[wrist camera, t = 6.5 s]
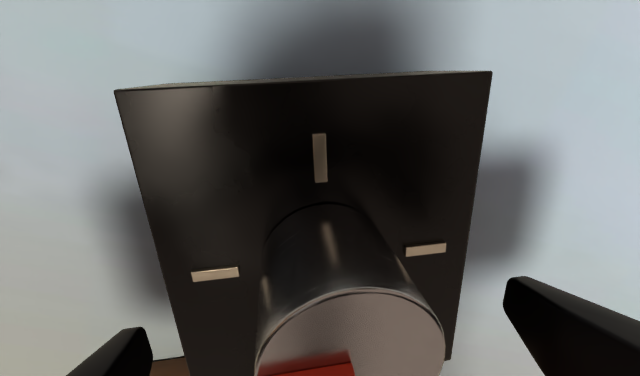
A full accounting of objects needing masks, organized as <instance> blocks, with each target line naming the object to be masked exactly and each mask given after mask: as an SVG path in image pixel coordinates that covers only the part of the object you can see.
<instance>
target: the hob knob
mask: <svg viewBox="0 0 640 376" xmlns="http://www.w3.org/2000/svg"><path fill="white" fill-rule="evenodd" d="M444 358H445V338H444V332H443V329H442V326H441V324H440V322H439V320H438V318H437V317H436V315H435V314H434V312H433V311H432V309H431V308H430V306H429V305H428V303H427V302H426V300H425V298H424V297H423V295H422V294H421V292H420V291H419V289H418V288H417V286H416V285H415V283H414V282H413V280H412V279H411V277H410V276H409V274H408V273H407V271H406V270H405V268H404V267H403V265H402V264H401V262H400V261H399V259H398V258H397V256H396V255H395V253H394V252H393V250H392V249H391V247H390V246H389V244H388V243H387V241H386V240H385V238H384V236H383V235H382V233H381V232H380V230H379V229H378V227H377V226H376V225H375V224H374V222H373V221H372V220H370V219H369V218H368V217H367V216H366V215H364V214H363V213H361V212H359V211H357V210H355V209H353V208H350V207H347V206H342V205H334V204H323V205H316V206H311V207H308V208H304V209H302V210H300V211H297V212H295V213H294V214H292V215H290V216H289V217H287V218H286V219H285V220H283V221H282V222H281V223H280V224H279V225H278V226H277V227H276V228H275V229H274V230H273V232H272V233H271V234H270V236H269V238H268V240H267V241H266V244H265V246H264V249H263V253H262V261H261V275H260V290H259V305H258V319H257V334H256V349H255V364H254V376H439V374H440V371H441V369H442V366H443V363H444Z"/></svg>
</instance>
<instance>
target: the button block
mask: <svg viewBox="0 0 640 376" xmlns="http://www.w3.org/2000/svg"><path fill="white" fill-rule="evenodd" d="M150 376H190V374H189V370H188V366H187V363H186V359H185V357H183V358H176V359H169V360H162V361H155V362H152V367H151V371H150Z"/></svg>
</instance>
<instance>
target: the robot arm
mask: <svg viewBox="0 0 640 376" xmlns="http://www.w3.org/2000/svg"><path fill="white" fill-rule="evenodd" d="M503 308H504V311H505V313H506V315H507V316H508V318H509V320H510V321H511V323H512V324H513V326H514V328H515V329H516V331H517V332H518V334H519V336H520V337H521V339H522V340H523V342H524V344H525V345H526V347H527V348H528V350H529V352H530V353H531V355H532V356H533V358H534V360H535V361H536V363H537V364H538V366H539V367H540V369H541V370H542V372H543V373H544V375H545V376H640V321H638V320H635V319H633V318H630V317H628V316H625V315H622V314H620V313H617V312H615V311H612V310H610V309H607V308H605V307H602V306H600V305H597V304H595V303H592V302H590V301H587V300H585V299H582V298H580V297H577V296H575V295H572V294H570V293H567V292H565V291H562V290H560V289H557V288H555V287H552V286H550V285H547V284H545V283H542V282H540V281H537V280H535V279H532V278H530V277H527V276H520V277H513V278H510V279H509V280H508V281H507V285H506V290H505V295H504V299H503ZM152 362H153V354H152V350H151V347H150V344H149V340H148V337H147V334H146V331H145V329H144V328H142V327H135V328H127V329H123V330H121V331H120V332H119V333H117V334H116V335H115V336H114V337H113V338H111V339H110V340H109V341H108V342H106V343H105V344H104V345H103V346H102V347H100V348H99V349H98V350H97V351H96V352H94V353H93V354H92V355H91V356H89V357H88V358H87V359H86V360H85V361H83V362H82V363H81V364H80V365H78V366H77V367H76V368H75V369H74V370H72V371H71V372H70V373H69V374H68V375H66V376H150V371H151V367H152Z"/></svg>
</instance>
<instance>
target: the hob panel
mask: <svg viewBox="0 0 640 376" xmlns="http://www.w3.org/2000/svg"><path fill="white" fill-rule="evenodd" d="M491 80H492V71H416V72H396V73H375V74H355V75H334V76H314V77H293V78H273V79H252V80H232V81H212V82H191V83H171V84H160V85H151V86H143V87H134V88H125V89H117V90H114V95H115V99H116V103H117V106H118V110H119V114H120V117H121V121H122V125H123V129H124V132H125V136H126V140H127V143H128V147H129V151H130V155H131V158H132V162H133V166H134V169H135V173H136V177H137V181H138V184H139V188H140V192H141V195H142V199H143V203H144V207H145V210H146V214H147V218H148V221H149V225H150V229H151V233H152V236H153V240H154V244H155V247H156V251H157V255H158V259H159V262H160V266H161V270H162V273H163V277H164V281H165V285H166V288H167V292H168V296H169V300H170V303H171V307H172V311H173V314H174V318H175V322H176V326H177V329H178V333H179V337H180V340H181V344H182V348H183V352H184V355H185V359H186V363H187V366H188V370H189V374H190V376H254V364H255V349H256V334H257V319H258V305H259V290H260V275H261V261H262V253H263V249H264V246H265V244H266V241H267V240H268V238H269V236H270V234H271V233H272V232H273V230H274V229H275V228H276V227H277V226H278V225H279V224H280V223H281V222H282V221H283V220H285V219H286V218H287V217H289V216H290V215H292V214H294V213H295V212H297V211H300V210H302V209H304V208H308V207H311V206H316V205H323V204H334V205H342V206H347V207H350V208H353V209H355V210H357V211H359V212H361V213H363V214H364V215H366V216H367V217H368V218H369V219H370V220H372V221H373V222H374V224H375V225H376V226H377V227H378V229H379V230H380V232H381V233H382V235H383V236H384V238H385V240H386V241H387V243H388V244H389V246H390V247H391V249H392V250H393V252H394V253H395V255H396V256H397V258H398V259H399V261H400V262H401V264H402V265H403V267H404V268H405V270H406V271H407V273H408V274H409V276H410V277H411V279H412V280H413V282H414V283H415V285H416V286H417V288H418V289H419V291H420V292H421V294H422V295H423V297H424V298H425V300H426V302H427V303H428V305H429V306H430V308H431V309H432V311H433V312H434V314H435V315H436V317H437V318H438V320H439V322H440V324H441V326H442V329H443V332H444V338H445V358H444V361H446V360H450V359H451V354H452V347H453V340H454V333H455V327H456V320H457V313H458V306H459V299H460V292H461V285H462V279H463V272H464V265H465V258H466V251H467V244H468V238H469V231H470V224H471V217H472V210H473V203H474V196H475V190H476V183H477V176H478V169H479V162H480V155H481V149H482V142H483V135H484V128H485V121H486V114H487V107H488V101H489V94H490V87H491Z"/></svg>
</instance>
